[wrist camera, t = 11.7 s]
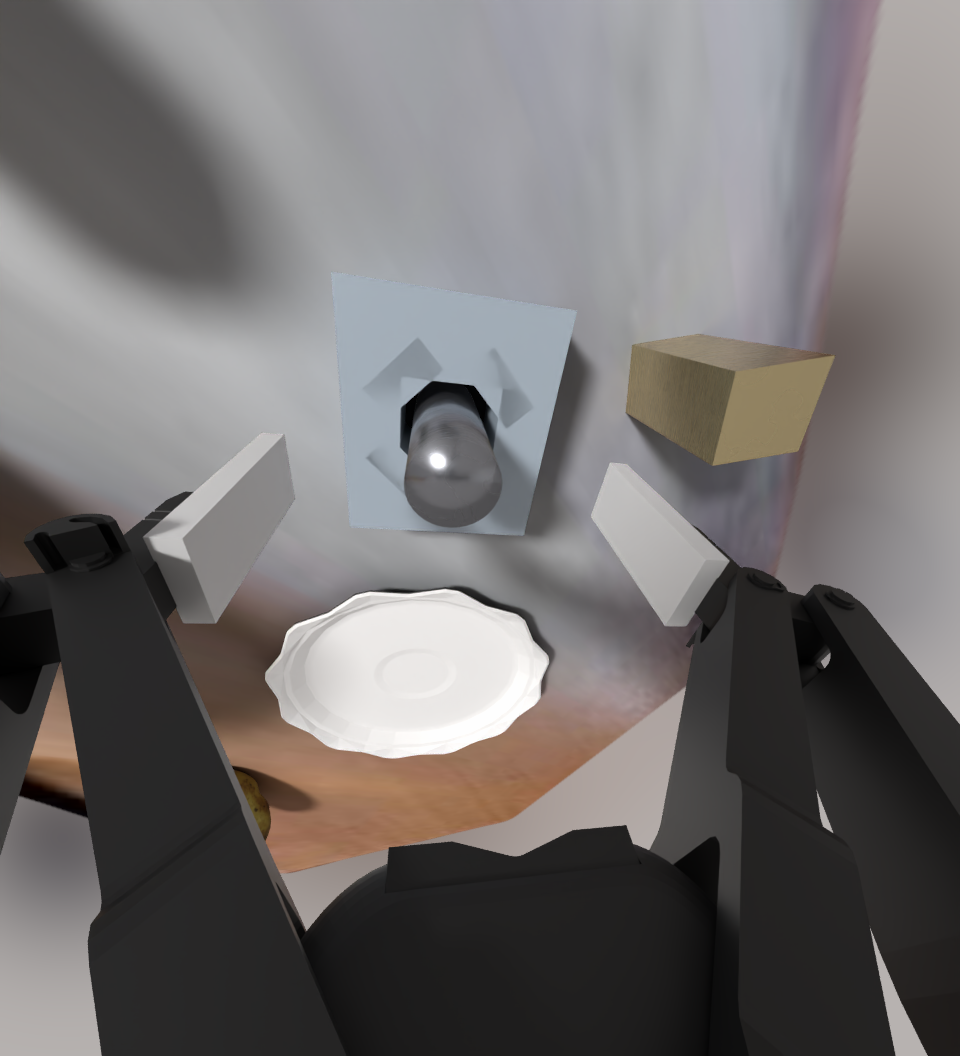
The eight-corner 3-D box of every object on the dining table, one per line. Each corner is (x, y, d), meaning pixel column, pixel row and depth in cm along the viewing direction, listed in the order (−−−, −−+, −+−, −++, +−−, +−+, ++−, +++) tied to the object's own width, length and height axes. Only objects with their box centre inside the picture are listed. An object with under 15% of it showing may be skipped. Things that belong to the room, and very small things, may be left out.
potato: (249, 752, 46) (218, 830, 39) (289, 793, 53) (269, 865, 47) (183, 763, 46) (141, 843, 39) (233, 803, 53) (204, 877, 46)
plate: (525, 729, 51) (529, 747, 49) (308, 747, 48) (303, 767, 46) (561, 569, 35) (569, 585, 33) (239, 579, 32) (226, 598, 30)
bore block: (351, 275, 21) (331, 271, 16) (550, 307, 23) (577, 310, 18) (362, 492, 28) (349, 527, 24) (511, 502, 30) (523, 535, 26)
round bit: (416, 375, 24) (404, 434, 14) (478, 382, 25) (510, 443, 15) (414, 436, 26) (403, 525, 16) (471, 441, 27) (494, 529, 17)
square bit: (632, 344, 24) (735, 371, 16) (698, 334, 24) (835, 355, 16) (625, 412, 27) (712, 465, 19) (685, 402, 27) (798, 451, 19)
